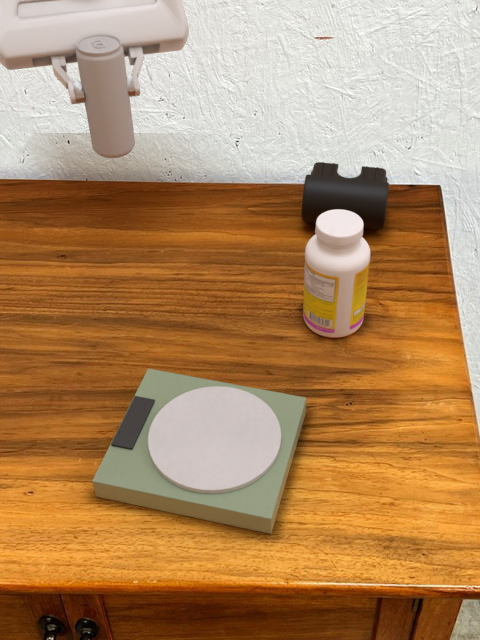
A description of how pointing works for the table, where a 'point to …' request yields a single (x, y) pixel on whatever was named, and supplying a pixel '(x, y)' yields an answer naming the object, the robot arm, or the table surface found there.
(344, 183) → the black notched block
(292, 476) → the table surface
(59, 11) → the robot arm
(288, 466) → the scale
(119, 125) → the beverage can
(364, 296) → the supplement bottle
